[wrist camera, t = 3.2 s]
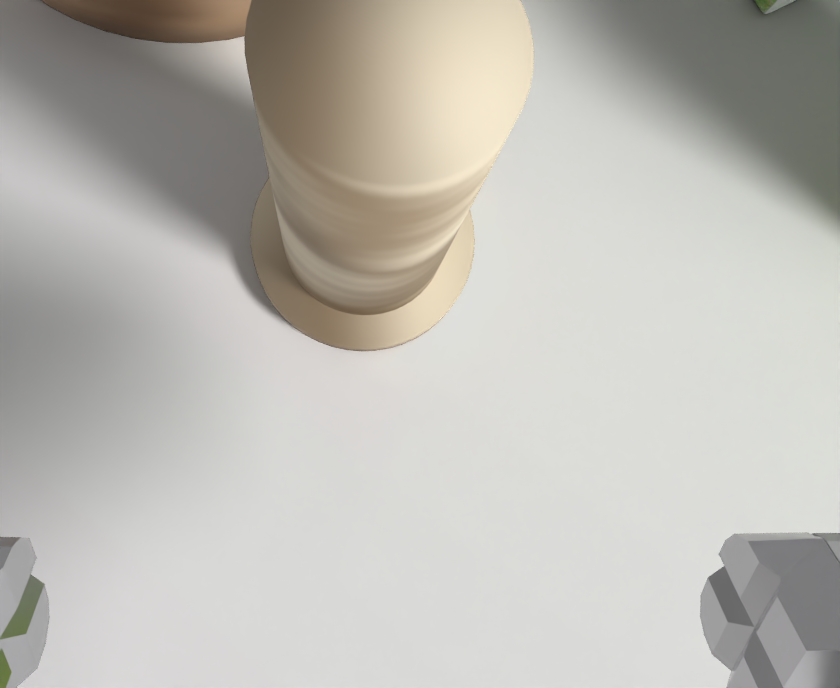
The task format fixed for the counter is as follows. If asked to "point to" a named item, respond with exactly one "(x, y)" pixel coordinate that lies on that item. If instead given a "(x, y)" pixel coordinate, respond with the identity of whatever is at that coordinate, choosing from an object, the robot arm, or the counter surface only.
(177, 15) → the base
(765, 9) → the syrup box
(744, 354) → the counter surface
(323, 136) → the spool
